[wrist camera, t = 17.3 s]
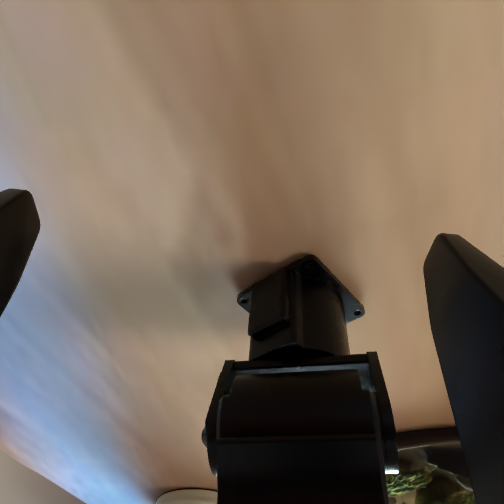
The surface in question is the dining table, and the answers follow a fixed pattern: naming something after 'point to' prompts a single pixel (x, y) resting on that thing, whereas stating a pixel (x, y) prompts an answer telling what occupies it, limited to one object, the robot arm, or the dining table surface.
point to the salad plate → (430, 469)
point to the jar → (189, 497)
